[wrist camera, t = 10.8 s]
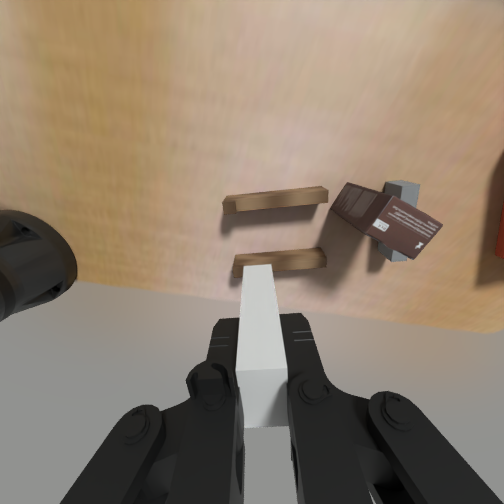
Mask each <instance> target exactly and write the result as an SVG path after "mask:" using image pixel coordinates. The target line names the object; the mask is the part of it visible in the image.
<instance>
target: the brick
mask: <svg viewBox="0 0 504 504" xmlns="http://www.w3.org/2000/svg"><path fill="white" fill-rule="evenodd" d="M495 255H496V256H498V257H501V258H502V259H504V202H503V208H502V214H501V221H500V227H499V233H498V239H497V245H496V251H495Z"/></svg>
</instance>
